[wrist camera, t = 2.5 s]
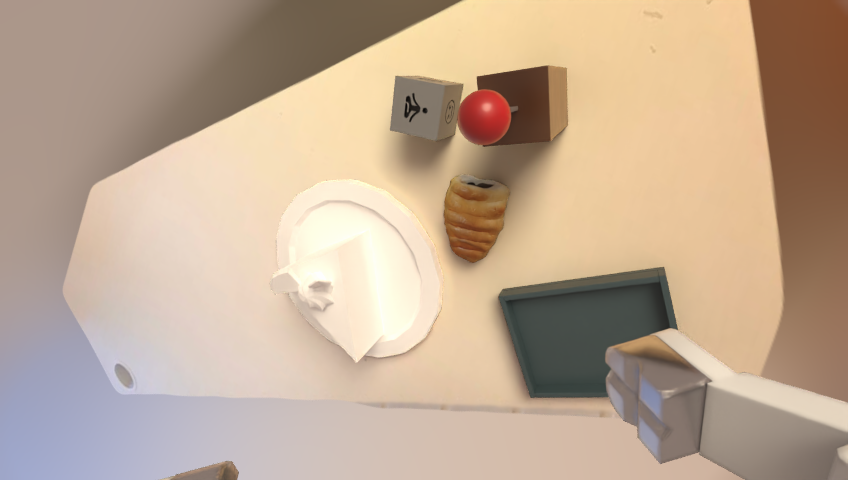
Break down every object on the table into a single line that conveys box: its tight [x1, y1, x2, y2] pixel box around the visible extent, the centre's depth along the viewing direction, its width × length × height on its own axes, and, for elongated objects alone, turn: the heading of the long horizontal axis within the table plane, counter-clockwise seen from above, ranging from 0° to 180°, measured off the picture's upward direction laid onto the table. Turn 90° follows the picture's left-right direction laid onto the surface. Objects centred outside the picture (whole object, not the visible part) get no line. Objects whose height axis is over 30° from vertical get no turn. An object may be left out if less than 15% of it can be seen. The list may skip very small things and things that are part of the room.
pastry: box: [444, 174, 510, 263], centre depth 44 cm, size 9×7×4 cm
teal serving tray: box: [499, 267, 678, 398], centre depth 44 cm, size 16×13×2 cm
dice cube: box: [390, 76, 463, 141], centre depth 41 cm, size 5×5×5 cm
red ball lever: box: [457, 66, 568, 147], centre depth 30 cm, size 5×5×20 cm
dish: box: [270, 179, 444, 363], centre depth 50 cm, size 25×25×11 cm
